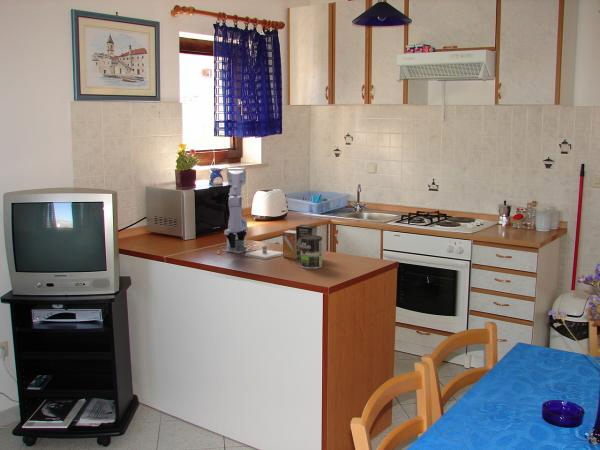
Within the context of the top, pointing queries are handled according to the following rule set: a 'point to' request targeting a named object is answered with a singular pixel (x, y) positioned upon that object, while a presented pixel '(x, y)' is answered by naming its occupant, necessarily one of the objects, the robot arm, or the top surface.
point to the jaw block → (238, 246)
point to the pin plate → (264, 253)
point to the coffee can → (311, 252)
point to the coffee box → (304, 231)
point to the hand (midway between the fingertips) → (236, 246)
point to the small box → (290, 244)
